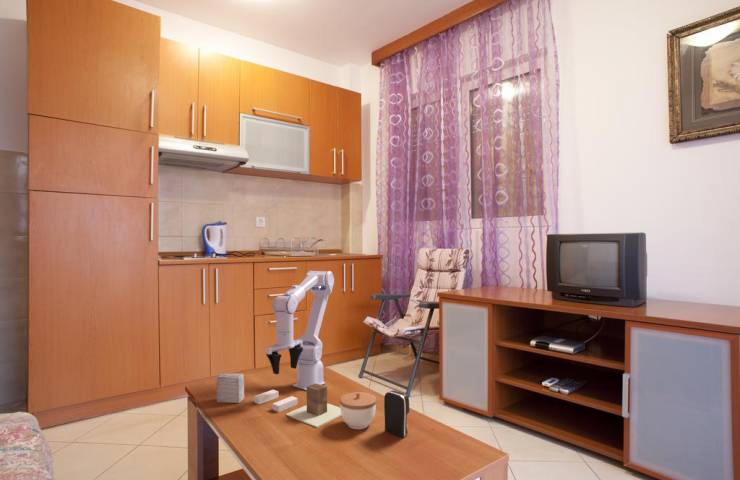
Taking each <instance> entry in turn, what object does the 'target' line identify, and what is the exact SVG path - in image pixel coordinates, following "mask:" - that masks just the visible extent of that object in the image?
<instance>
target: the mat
mask: <svg viewBox="0 0 740 480" xmlns="http://www.w3.org/2000/svg"><path fill="white" fill-rule="evenodd" d="M285 416H287V417H289V418H292V419H293V420H294V419H295V420H296V421H298V422H301V423H303V424H306V425H310V426H312V427H315V428H316V429H318V428H320V427H322V426H324V425H326V424H328V423H330V422H332V421H334V420H336V419H338V418H340V417H342V415H341V408H340V407H339V406H337V405H334V404H331V403H328V402H327V412H326V413H324V414H322V415H320V416H316V415H313V414H310V413H308V412H307V404H306V405H304V406H301V407H299V408H296V409H293V410H291V411H290V412H287V413H286V414H285Z"/></svg>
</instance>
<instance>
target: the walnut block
mask: <svg viewBox="0 0 740 480" xmlns="http://www.w3.org/2000/svg"><path fill="white" fill-rule="evenodd" d="M327 403H328V386H327V385H324V384H323V385H320V384H317V383H315V384H313V385H310V386H307V390H306V405H307V412H308V413H310V414H313V415H316V416H320V415H322V414H324V413H326V412H327Z"/></svg>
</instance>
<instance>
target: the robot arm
mask: <svg viewBox="0 0 740 480" xmlns="http://www.w3.org/2000/svg"><path fill="white" fill-rule="evenodd" d="M334 277H335V276H334V274H333V272H332V271H331V270H328V271H325V270H324V271H323V270H309V271H308V272H306V274H305V278H304V279H303V280H302V282H301V283H300V284H293V285H292V286H291V288H289V289H288V290H287V291H285V293H283V295H278V296H276V297H275V298H274V299H273V302H272V303H273V304H272V306H271V307H272V310H273V312H274V317H275V318H276V319H275V321H276V323H275V324H276V326H275V327H276V331H275V332H276V335H275V336H276V337H275V338H276V342H275V344H272V345H270V346H267V347H266V348H265V355H266V357H267V359H268V360H269V363H270V364H271V369H272V373H273V374H274V375H279V374H280V363H281V358H282V354H280V353H279V352H281V351H286V350H288V352H289V359H290V360H289V361H290V362H289V363H290V368H291V369H294V370H295V369H297V382H296V383H293V384H292V386H293V387H295V388H297V389H301V390H305V391H307V386H310V385H313V384H315V383H317V384H320V385H323V386H324V385H325V384H326V382H325V381H324V364H323V362H322V361H321V358H322V356H323V345H324V344H323V342H322V341H321V339H320V338H319V336H320V335H319V334H320V330H321V326H322V323H323V318H324V317H325V311H326V308H327V304H328V300H329V296H330V295H331V294H332V291H333V288H334V284H335V278H334ZM308 291H310V293H311V294H313V295H314V298H313V303H312V306H311V310H310V313H309V317H308V321H307V324H306V329H305V332H304V334H303V335H301V336H300V337H298V338H297V339H296V340H295V339H294V313H295V312H296V310H297V307H298V306H299V303H300V302H301V301H303V299H305V298H306V294H307V292H308Z"/></svg>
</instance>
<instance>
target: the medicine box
mask: <svg viewBox="0 0 740 480" xmlns="http://www.w3.org/2000/svg"><path fill="white" fill-rule="evenodd" d="M244 377H245V375H244V373H230V372H229V373H221V374H219V375H217V377H216V403H230V404H240V403H241V402H242V401H243V400H244V399H245V378H244Z"/></svg>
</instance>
